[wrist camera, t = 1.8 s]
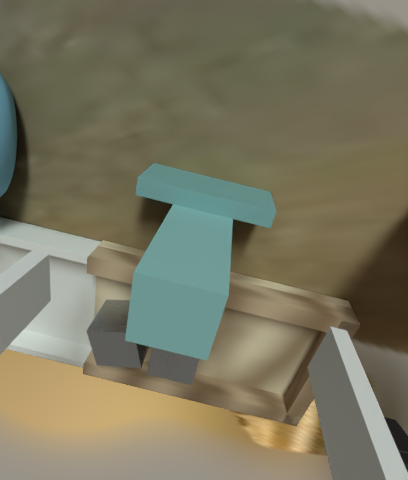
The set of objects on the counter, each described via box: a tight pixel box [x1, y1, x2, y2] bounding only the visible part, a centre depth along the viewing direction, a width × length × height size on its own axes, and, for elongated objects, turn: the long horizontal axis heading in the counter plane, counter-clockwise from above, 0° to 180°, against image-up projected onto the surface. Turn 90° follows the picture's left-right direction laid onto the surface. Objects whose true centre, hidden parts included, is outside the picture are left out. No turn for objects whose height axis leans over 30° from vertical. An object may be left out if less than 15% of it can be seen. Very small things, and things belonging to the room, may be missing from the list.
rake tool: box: [125, 163, 276, 361], centre depth 18 cm, size 5×9×12 cm, turn 77°
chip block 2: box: [147, 347, 200, 385], centre depth 26 cm, size 4×4×4 cm
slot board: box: [83, 240, 360, 426], centre depth 28 cm, size 22×14×3 cm, turn 77°
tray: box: [0, 217, 101, 368], centre depth 28 cm, size 12×14×2 cm
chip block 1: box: [87, 300, 149, 368], centre depth 26 cm, size 4×4×4 cm
